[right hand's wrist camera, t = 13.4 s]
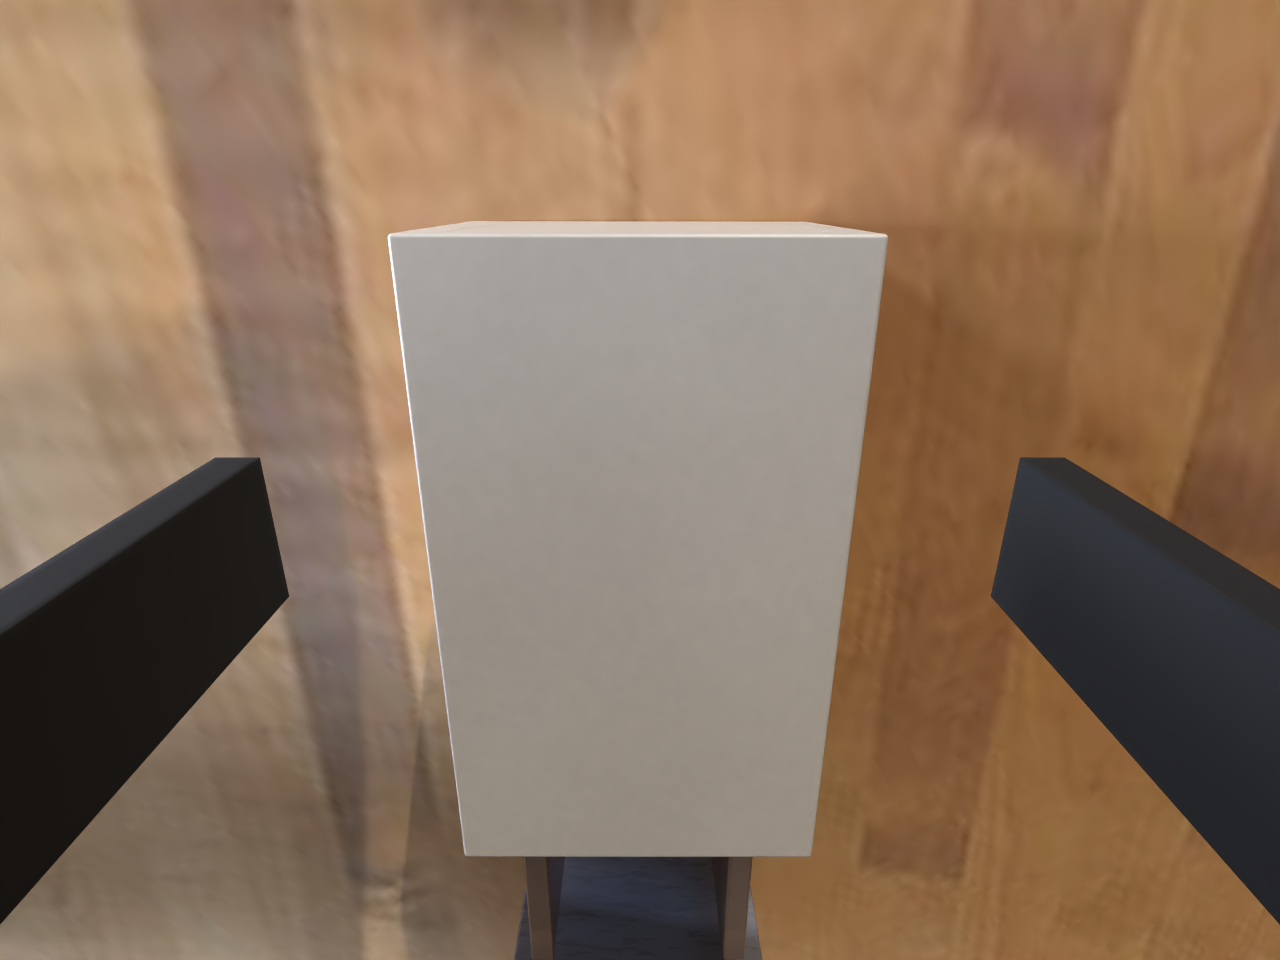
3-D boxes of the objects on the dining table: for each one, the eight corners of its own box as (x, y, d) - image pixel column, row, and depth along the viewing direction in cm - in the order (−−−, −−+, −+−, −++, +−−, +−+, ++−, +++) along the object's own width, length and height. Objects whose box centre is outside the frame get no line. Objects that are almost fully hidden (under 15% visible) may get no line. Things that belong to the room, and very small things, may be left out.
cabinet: (767, 689, 30) (811, 858, 22) (508, 688, 30) (464, 857, 22) (807, 221, 23) (890, 234, 15) (470, 221, 23) (385, 233, 15)
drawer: (737, 961, 35) (756, 1112, 29) (539, 961, 35) (519, 1112, 29) (770, 537, 26) (807, 633, 20) (506, 537, 26) (468, 633, 20)
